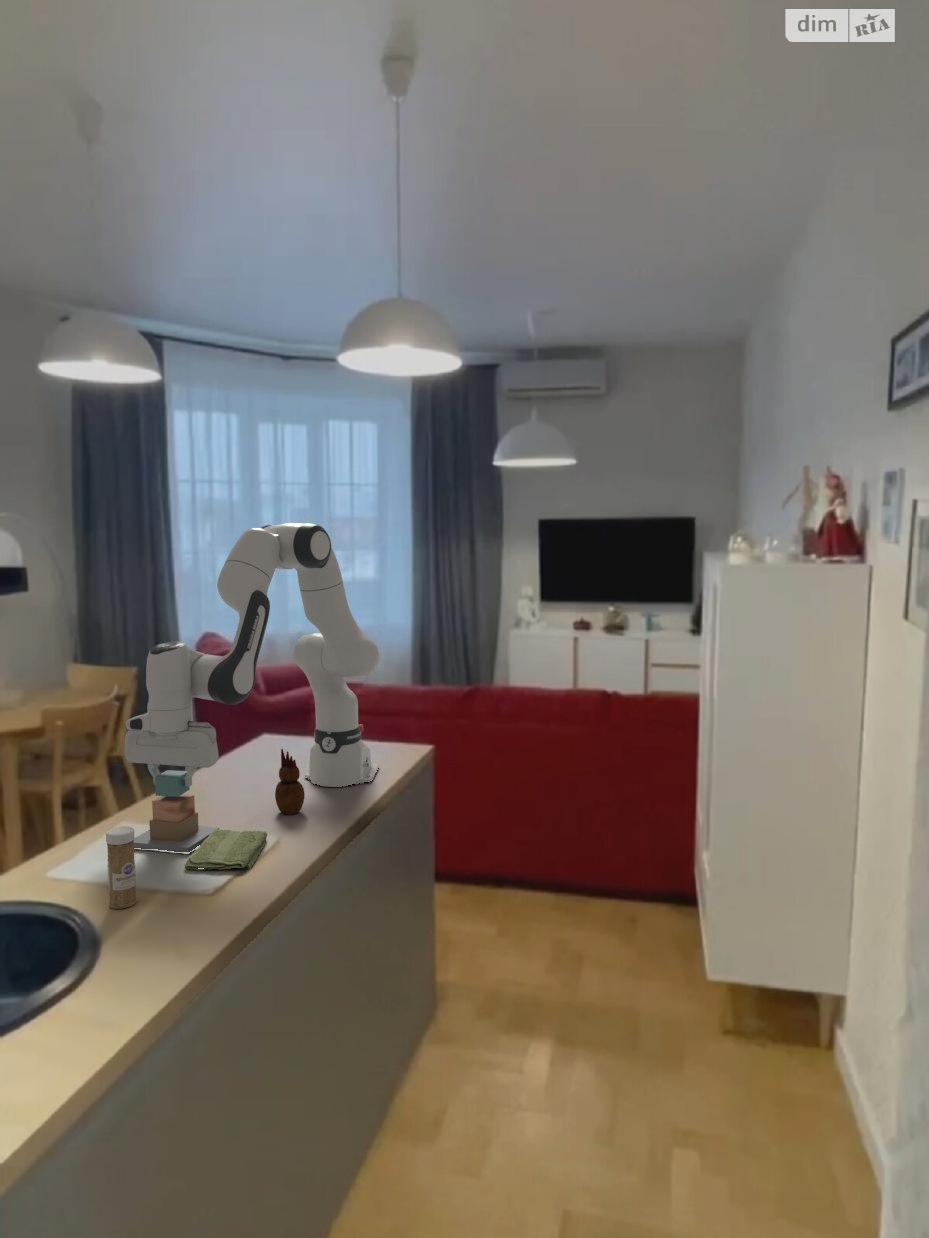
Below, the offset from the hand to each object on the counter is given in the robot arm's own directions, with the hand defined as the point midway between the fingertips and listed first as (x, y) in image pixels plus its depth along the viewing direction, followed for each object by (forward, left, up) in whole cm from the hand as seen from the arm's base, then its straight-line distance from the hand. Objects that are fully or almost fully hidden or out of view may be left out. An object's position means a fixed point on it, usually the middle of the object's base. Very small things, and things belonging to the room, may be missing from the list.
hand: (172, 784), depth 174 cm
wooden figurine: (-23, +15, -12) cm, 30 cm away
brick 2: (0, 0, -7) cm, 7 cm away
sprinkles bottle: (+29, +8, -12) cm, 33 cm away
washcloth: (+4, +15, -13) cm, 20 cm away
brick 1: (0, 0, -2) cm, 2 cm away
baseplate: (0, 0, -12) cm, 12 cm away
